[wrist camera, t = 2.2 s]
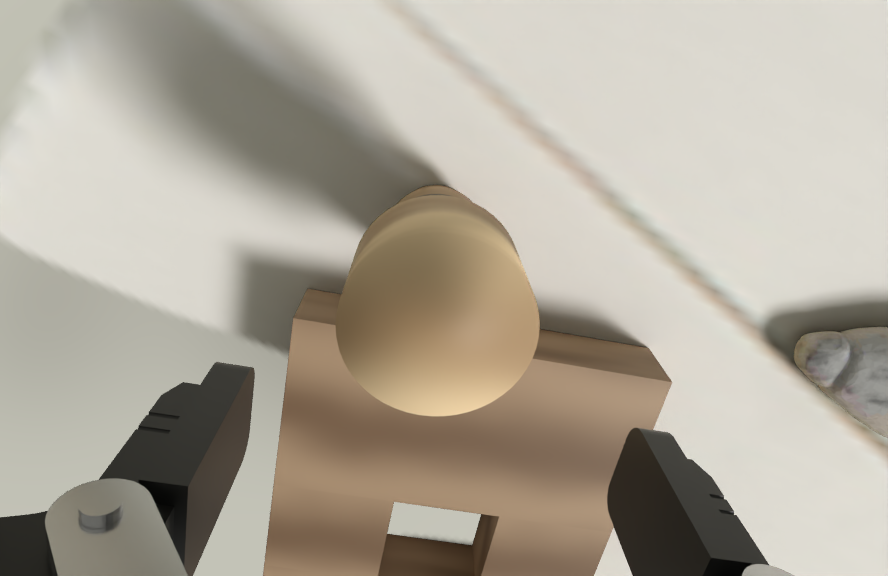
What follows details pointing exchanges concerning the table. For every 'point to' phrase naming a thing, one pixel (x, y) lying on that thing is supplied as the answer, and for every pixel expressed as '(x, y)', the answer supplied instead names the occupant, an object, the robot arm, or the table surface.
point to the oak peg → (437, 307)
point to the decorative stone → (850, 371)
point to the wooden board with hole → (453, 461)
